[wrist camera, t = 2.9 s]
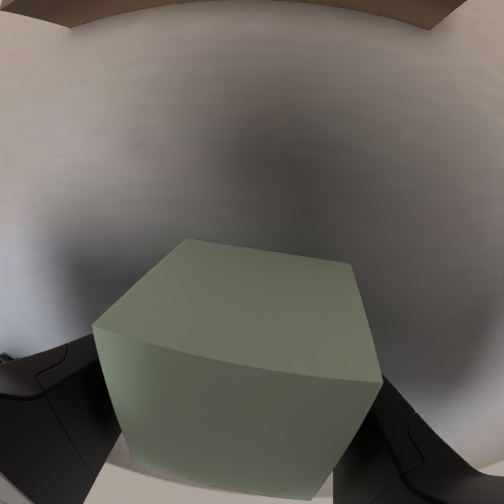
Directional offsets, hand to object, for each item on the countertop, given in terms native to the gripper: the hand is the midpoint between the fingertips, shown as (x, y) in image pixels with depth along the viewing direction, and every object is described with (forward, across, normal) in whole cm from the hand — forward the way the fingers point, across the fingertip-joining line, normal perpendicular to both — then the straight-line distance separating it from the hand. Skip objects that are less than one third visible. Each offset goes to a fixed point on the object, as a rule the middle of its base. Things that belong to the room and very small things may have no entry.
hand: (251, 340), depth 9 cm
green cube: (+1, 0, 0) cm, 1 cm away
